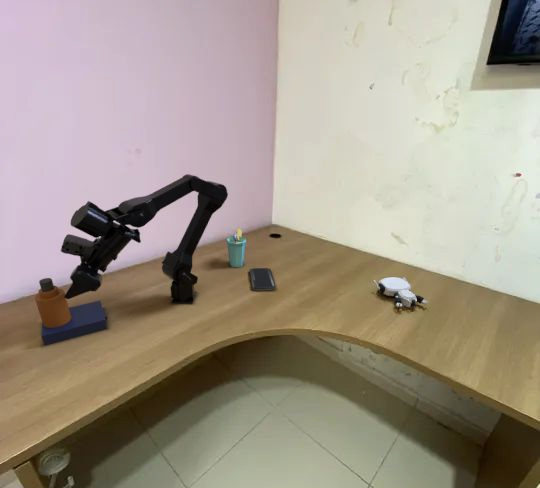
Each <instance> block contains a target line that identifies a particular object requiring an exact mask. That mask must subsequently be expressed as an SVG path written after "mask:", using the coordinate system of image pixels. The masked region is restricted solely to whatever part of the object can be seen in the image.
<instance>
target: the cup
mask: <svg viewBox="0 0 540 488" xmlns="http://www.w3.org/2000/svg"><path fill="white" fill-rule="evenodd" d="M242 233H243V231H242V227H237V229H236V230H235V232H234V233H233V236H229V237H227V238H226V240H225V241H226V244H227V252H228V260H229V265H230V266H231V268H242V267H243V265H244V261H245V252H246V251H245V250H246V243H247V239H246V238H245V237H244V236H242V235H243V234H242Z"/></svg>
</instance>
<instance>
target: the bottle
mask: <svg viewBox="0 0 540 488" xmlns="http://www.w3.org/2000/svg"><path fill="white" fill-rule="evenodd" d="M38 283H39V287H40V288H39V289H38V293H36V294H35V296H34V301H35V303H36V307H37V310H38V313H39V316H40V319H41V323H42V322H43V325H44V326H45V327H47V328H55V327H59V326H62V325H65V324H66V323H68V322H69V321H70V320H71V314H70V310H69V304H68V299H66V298H64V296H65V294H66V293H65V290H64V289H62V288H59V287H58V286H57V285H54V283H53V279H52V278H51V277H45V278H42V279H39V281H38Z"/></svg>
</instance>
